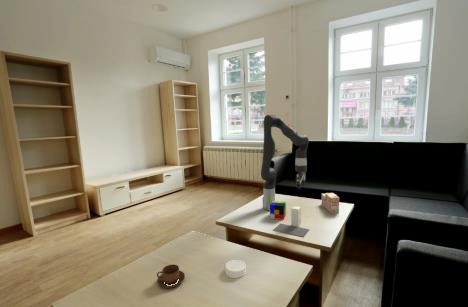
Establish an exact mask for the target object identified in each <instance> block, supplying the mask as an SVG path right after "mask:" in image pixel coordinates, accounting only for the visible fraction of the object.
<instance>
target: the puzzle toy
mask: <svg viewBox="0 0 468 307" xmlns="http://www.w3.org/2000/svg"><path fill="white" fill-rule="evenodd" d="M286 216H287V201H282V200H281V201H280V200H279V201H278V200H275V201H272V203H271V204H270V210H269V219H278V220H285V218H286Z"/></svg>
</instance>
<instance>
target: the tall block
mask: <svg viewBox="0 0 468 307" xmlns="http://www.w3.org/2000/svg"><path fill="white" fill-rule="evenodd" d="M290 218H291V219H290V222H291V223H290V226H295V227H300V226H301V225H302V207H301V206H295V205H294V206H292V207H291V208H290Z"/></svg>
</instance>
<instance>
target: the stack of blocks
mask: <svg viewBox="0 0 468 307" xmlns="http://www.w3.org/2000/svg"><path fill="white" fill-rule="evenodd" d="M320 197H321V205H322V207H323V208H325V209H326V211H328V212H329V214H339V213H340V197H339V196H338V195H337V194H335V193H334V192H326V193H321V196H320Z"/></svg>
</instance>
